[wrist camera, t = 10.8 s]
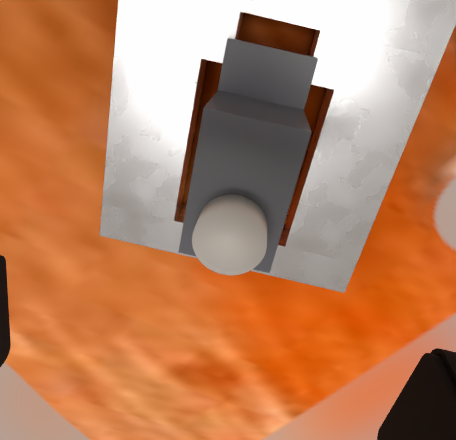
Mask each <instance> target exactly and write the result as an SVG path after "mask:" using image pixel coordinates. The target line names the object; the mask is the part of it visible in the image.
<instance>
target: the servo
mask: <svg viewBox="0 0 456 440" xmlns="http://www.w3.org/2000/svg"><path fill="white" fill-rule="evenodd" d="M317 62H318V58H317V57H313V56H308V55H304V54H300V53H295V52H291V51H286V50H282V49H278V48H273V47H269V46H265V45H260V44H256V43H251V42H247V41H243V40H238V39H234V38H229V37H228V38H227V42H226V48H225V53H224V59H223V64H222V69H221V75H220V80H219V86H218V91H217V92H216V93H215V94H214V95H213V97H212V98H211V99H210V100H209V102H208V103H207V104H206V105H205V106H204V108H203V114H202V120H201V125H200V131H199V137H198V143H197V148H196V154H195V160H194V166H193V171H192V177H191V183H190V189H189V194H188V200H187V206H186V211H185V217H184V223H183V229H182V234H181V240H180V246H179V253H183V254H188V255H192V256H196V257H197V258H198V259H199V261H200V262H201V263H202V264H203V265H204V266H206V267H207V268H208V269H210V270H212V271H214V272H216V273H219V274H224V275H239V274H243V273H246V272H248V271H250V270H252V269H253V270H258V271H262V272H267V273H270V270H271V267H272V263H273V260H274V257H275V253H276V250H277V247H278V243H279V240H280V237H281V233H282V230H283V227H284V223H285V220H286V216H287V213H288V210H289V206H290V203H291V200H292V196H293V193H294V190H295V186H296V183H297V180H298V176H299V173H300V169H301V166H302V163H303V159H304V156H305V153H306V149H307V146H308V143H309V139H310V136H311V133H312V132H311V129H310V126H309V123H308V120H307V118H306V115H305V112H304V108H305V104H306V101H307V97H308V94H309V90H310V87H311V83H312V80H313V76H314V73H315V69H316V65H317Z"/></svg>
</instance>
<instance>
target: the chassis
mask: <svg viewBox="0 0 456 440" xmlns="http://www.w3.org/2000/svg"><path fill="white" fill-rule="evenodd" d="M244 13H248V14H252V15H256V16H260V17H265V18H269V19H273V20H277V21H282V22H286V23H290V24H294V25H299V26H303V27H307V28H312V29H316V32H315V35H314V39H313V42H312V46H311V50H310V53H309V56H313V57H317V58H318V62H317V65H316V69H315V73H314V76H313V80H312V83H311V84H312V85H316V86H321V87H325V88H327V90H326V94H325V97H324V100H323V103H322V107H321V110H320V113H319V116H318V120H317V123H316V126H315V129H314V133H313V136H312V139H311V142H310V146H309V149H308V152H307V156H306V159H305V162H304V165H303V169H302V172H301V175H300V178H299V182H298V185H297V188H296V191H295V195H294V198H293V201H292V204H291V208H290V211H289V214H288V217H287V221H286V224H285V227H284V228H283V230H282V233H281V237H280V240H279V243H278V247H277V250H276V253H275V257H274V260H273V263H272V267H271V270H270V273H267V272H262V271H258V270H253V269H252V270H250V271H254V272H258V273H262V274H267V275H271V276H275V277H279V278H284V279H288V280H292V281H297V282H301V283H305V284H309V285H314V286H318V287H322V288H327V289H331V290H335V291H339V292H345V290H346V288H347V285H348V283H349V280H350V278H351V276H352V273H353V271H354V268H355V266H356V264H357V261H358V259H359V256H360V254H361V251H362V249H363V247H364V244H365V242H366V239H367V237H368V235H369V232H370V230H371V227H372V225H373V222H374V220H375V218H376V215H377V213H378V210H379V208H380V206H381V203H382V201H383V198H384V196H385V194H386V191H387V189H388V186H389V184H390V181H391V179H392V177H393V174H394V172H395V169H396V167H397V165H398V162H399V160H400V157H401V155H402V152H403V150H404V148H405V145H406V143H407V140H408V138H409V136H410V133H411V131H412V128H413V126H414V123H415V121H416V119H417V116H418V114H419V111H420V109H421V107H422V104H423V102H424V99H425V97H426V95H427V92H428V90H429V87H430V85H431V82H432V80H433V78H434V75H435V73H436V70H437V68H438V66H439V63H440V61H441V58H442V56H443V53H444V51H445V49H446V46H447V44H448V41H449V39H450V37H451V34H452V32H453V29H454V27H455V25H456V0H118V12H117V24H116V37H115V50H114V62H113V75H112V87H111V100H110V113H109V125H108V138H107V150H106V163H105V176H104V188H103V201H102V214H101V226H100V236H104V237H108V238H113V239H117V240H121V241H126V242H130V243H134V244H138V245H143V246H147V247H151V248H155V249H160V250H164V251H168V252H173V253H177V254H181V255H185V256H190V257H194V258H197V257H196V256H192V255H188V254H183V253H179V246H180V240H181V234H182V229H183V223H184V217H185V211H186V205H182V201H183V196H184V190H185V184H186V179H187V173H188V167H189V161H190V156H191V150H192V144H193V139H194V133H195V127H196V121H197V116H198V110H199V104H200V99H201V93H202V87H203V81H204V76H205V70H206V64H207V60H210V61H214V62H218V63H223V59H224V53H225V48H226V42H227V38H228V37H229V38H234V39H239V34H240V29H241V24H242V19H243V14H244Z"/></svg>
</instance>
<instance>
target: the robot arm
mask: <svg viewBox="0 0 456 440" xmlns="http://www.w3.org/2000/svg"><path fill="white" fill-rule="evenodd" d="M9 351H10V327H9V310H8V292H7V274H6V260H5V258H4V256H1V255H0V367H1V366H2V364H3V363H4V362H5V360H6V358H7V356H8V354H9ZM377 440H456V352H451V351H447V350H443V349H434V350H432V352H431V353H426V354H424V355H423V356H422V358H421V359H420V361H419V363H418V365H417V366H416V368H415V370H414V371H413V373H412V375H411V376H410V378H409V380H408V381H407V383H406V385H405V386H404V388H403V390H402V392H401V393H400V395H399V397H398V398H397V400H396V402H395V404H394V405H393V407H392V408H391V410H390V412H389V414H388V415H387V417H386V419H385V420H384V422H383V424H382V426H381V427H380V429H379V431H378V437H377Z"/></svg>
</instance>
